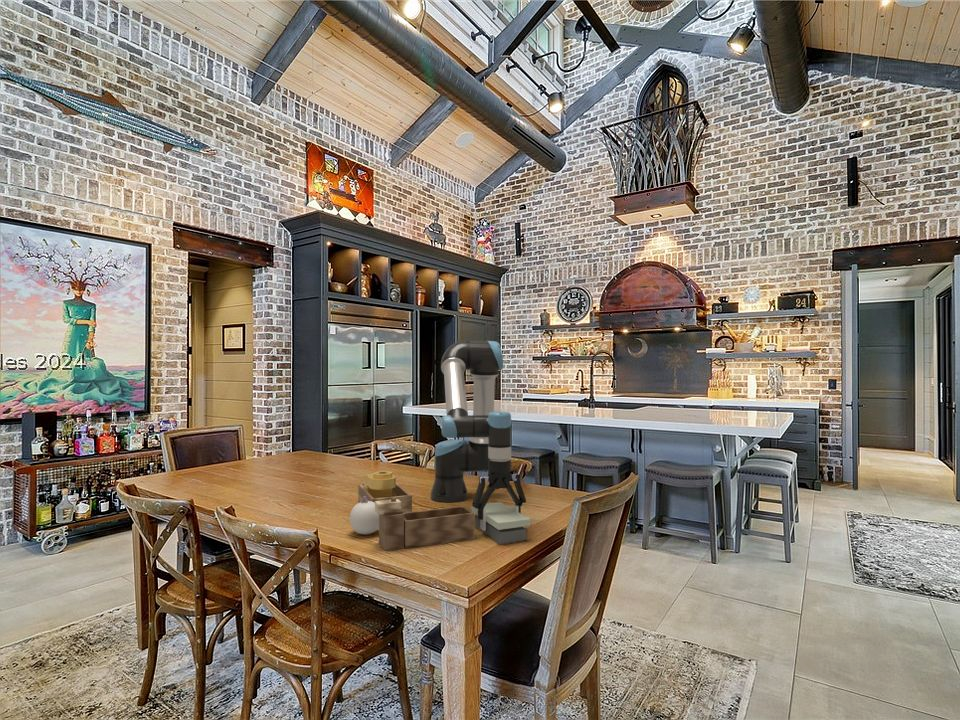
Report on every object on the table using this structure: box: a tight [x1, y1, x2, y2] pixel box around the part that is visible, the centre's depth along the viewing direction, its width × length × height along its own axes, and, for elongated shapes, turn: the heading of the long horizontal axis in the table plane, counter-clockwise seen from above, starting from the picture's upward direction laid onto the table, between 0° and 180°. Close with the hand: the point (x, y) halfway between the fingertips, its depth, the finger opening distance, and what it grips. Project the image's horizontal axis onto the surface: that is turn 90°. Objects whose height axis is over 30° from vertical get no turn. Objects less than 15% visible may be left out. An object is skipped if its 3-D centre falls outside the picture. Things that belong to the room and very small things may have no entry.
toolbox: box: [378, 505, 475, 552], centre depth 158 cm, size 28×9×11 cm, turn 113°
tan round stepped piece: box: [363, 470, 397, 499], centre depth 187 cm, size 20×9×16 cm, turn 23°
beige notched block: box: [375, 497, 401, 515], centre depth 154 cm, size 7×4×4 cm, turn 113°
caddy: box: [357, 481, 413, 513], centre depth 186 cm, size 14×25×9 cm, turn 23°
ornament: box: [349, 496, 379, 535], centre depth 165 cm, size 10×10×12 cm
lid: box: [470, 501, 532, 530], centre depth 166 cm, size 22×11×2 cm, turn 23°
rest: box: [474, 514, 527, 545], centre depth 166 cm, size 9×20×4 cm, turn 23°
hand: (499, 527), depth 166 cm, fingers closed on lid, 11 cm apart
